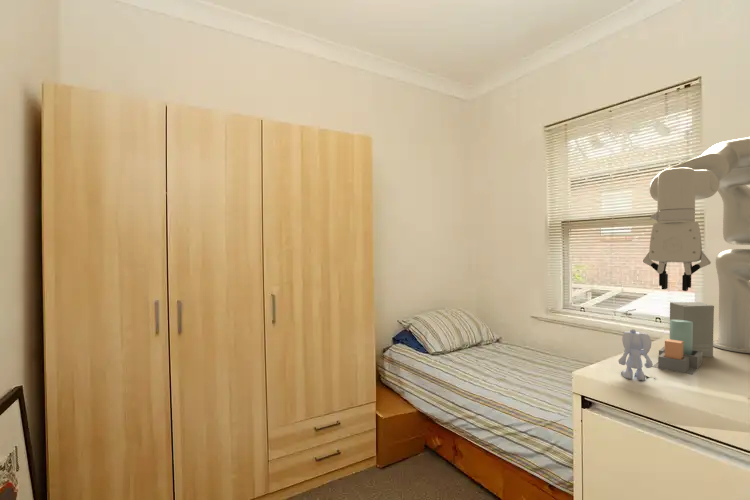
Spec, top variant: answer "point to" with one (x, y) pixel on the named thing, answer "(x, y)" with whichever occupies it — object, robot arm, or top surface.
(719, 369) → the top surface
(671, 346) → the plunger
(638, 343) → the toy figurine
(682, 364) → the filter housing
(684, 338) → the cartridge
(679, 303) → the skincare box
